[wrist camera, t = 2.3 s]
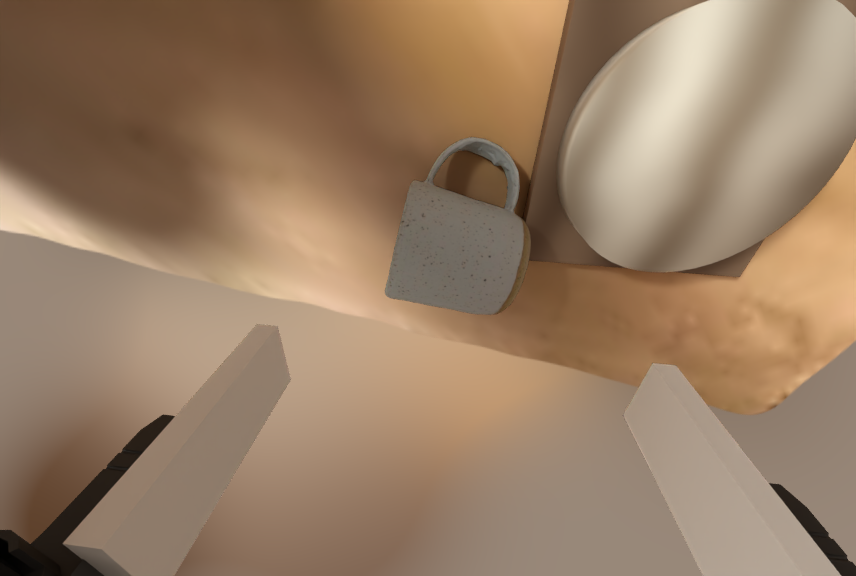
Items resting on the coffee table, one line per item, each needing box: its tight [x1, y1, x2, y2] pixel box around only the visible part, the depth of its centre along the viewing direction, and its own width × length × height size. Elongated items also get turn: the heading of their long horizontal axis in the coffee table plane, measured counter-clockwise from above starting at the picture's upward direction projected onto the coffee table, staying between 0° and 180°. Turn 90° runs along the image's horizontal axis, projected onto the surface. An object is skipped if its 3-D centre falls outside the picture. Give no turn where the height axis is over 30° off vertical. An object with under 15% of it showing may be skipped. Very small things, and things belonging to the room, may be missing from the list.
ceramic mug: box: [385, 137, 531, 315], centre depth 21 cm, size 11×8×8 cm
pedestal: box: [523, 0, 856, 277], centre depth 19 cm, size 16×16×4 cm
